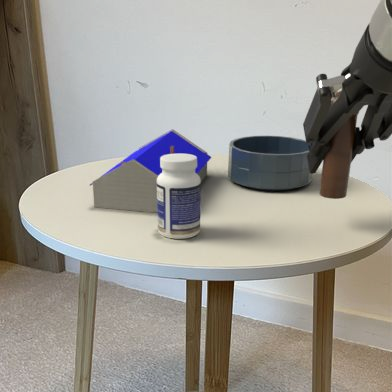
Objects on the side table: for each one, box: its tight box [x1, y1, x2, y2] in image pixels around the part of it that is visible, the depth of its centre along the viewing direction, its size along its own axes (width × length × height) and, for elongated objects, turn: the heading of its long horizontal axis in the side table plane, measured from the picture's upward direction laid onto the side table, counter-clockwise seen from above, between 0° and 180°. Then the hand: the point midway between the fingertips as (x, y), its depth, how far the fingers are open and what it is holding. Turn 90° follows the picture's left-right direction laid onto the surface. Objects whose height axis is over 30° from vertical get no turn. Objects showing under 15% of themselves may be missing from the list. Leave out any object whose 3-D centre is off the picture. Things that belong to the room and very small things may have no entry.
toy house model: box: [89, 128, 212, 214], centre depth 95 cm, size 22×14×7 cm, turn 167°
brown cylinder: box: [319, 90, 360, 200], centre depth 78 cm, size 4×4×13 cm
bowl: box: [227, 135, 314, 192], centre depth 101 cm, size 14×14×6 cm
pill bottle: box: [156, 153, 202, 240], centre depth 78 cm, size 6×6×10 cm
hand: (325, 163), depth 83 cm, fingers closed on brown cylinder, 4 cm apart
